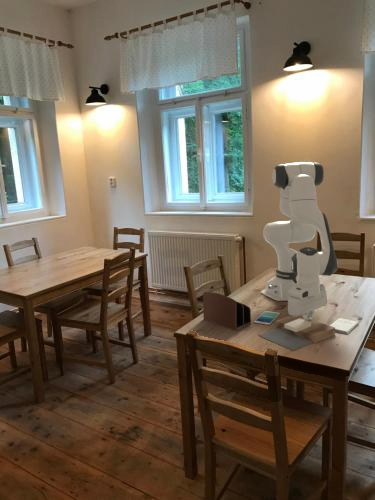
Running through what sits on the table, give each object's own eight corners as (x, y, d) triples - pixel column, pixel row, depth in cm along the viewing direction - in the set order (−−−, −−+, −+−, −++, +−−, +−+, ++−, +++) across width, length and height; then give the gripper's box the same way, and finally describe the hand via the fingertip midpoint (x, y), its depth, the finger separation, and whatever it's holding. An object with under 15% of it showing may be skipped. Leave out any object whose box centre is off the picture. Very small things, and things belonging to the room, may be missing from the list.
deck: (275, 327, 171) (275, 320, 170) (295, 320, 177) (295, 313, 177) (315, 343, 155) (315, 335, 154) (334, 334, 161) (334, 327, 160)
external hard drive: (327, 330, 166) (338, 321, 175) (347, 335, 161) (358, 325, 170) (327, 327, 166) (339, 317, 175) (347, 331, 161) (358, 321, 170)
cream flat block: (284, 327, 163) (284, 324, 163) (299, 321, 168) (299, 318, 168) (296, 332, 158) (296, 328, 158) (311, 326, 163) (311, 322, 163)
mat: (258, 335, 164) (258, 334, 164) (277, 328, 170) (277, 327, 170) (293, 351, 149) (293, 350, 149) (312, 342, 155) (312, 341, 155)
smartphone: (280, 312, 186) (269, 324, 173) (280, 314, 186) (269, 326, 174) (264, 310, 190) (253, 321, 177) (265, 312, 190) (253, 323, 177)
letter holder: (236, 331, 170) (235, 299, 167) (203, 319, 184) (201, 289, 182) (251, 324, 176) (250, 293, 173) (218, 313, 191) (217, 284, 188)
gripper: (318, 281, 171) (318, 312, 174) (285, 292, 160) (285, 325, 163) (331, 284, 166) (330, 316, 169) (297, 295, 155) (297, 329, 158)
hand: (308, 320), depth 166 cm, fingers closed
